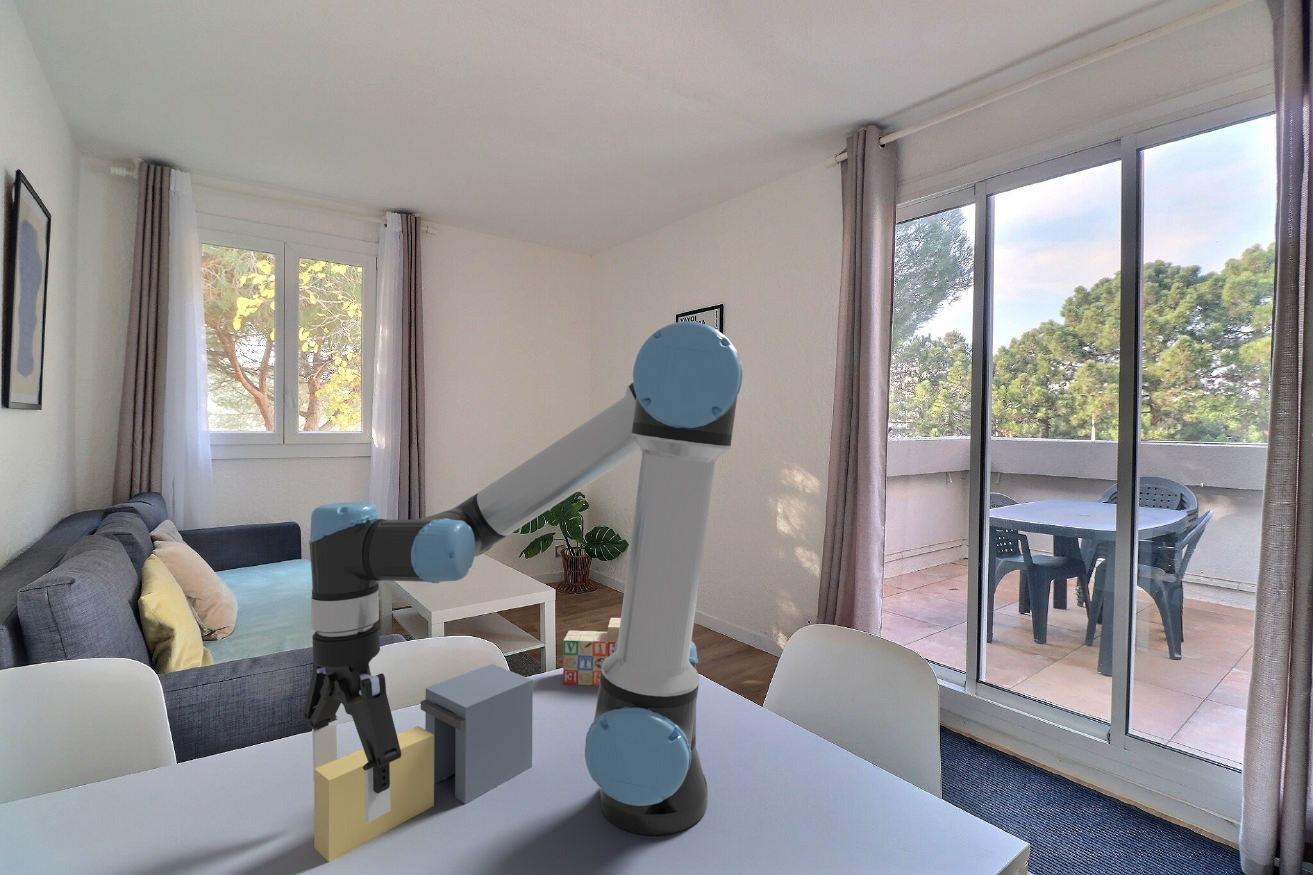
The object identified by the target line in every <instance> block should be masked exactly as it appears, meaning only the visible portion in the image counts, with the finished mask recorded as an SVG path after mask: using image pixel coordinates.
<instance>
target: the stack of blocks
mask: <svg viewBox="0 0 1313 875" xmlns="http://www.w3.org/2000/svg"><path fill="white" fill-rule="evenodd" d="M620 621H621V617H610V619H609V623H608V625H607V631H595V630H568V632H567V633H566V635H565V637H564V638H563V640H562V642H563V644H562V648H563V649H562V654H563V657H562V658H563V661H562V662H563V663H562V669H563V670H562V671H563V672H562V684H563V685H578V686H598V687H599V683H600V676H601V668H602V664H603V661H604V660H605V659H606V658H607V657H609V656H610V655H612V654H613V653H614V648H615V643H616V642H617V641H618V636H619V629H620Z"/></svg>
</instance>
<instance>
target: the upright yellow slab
mask: <svg viewBox="0 0 1313 875" xmlns="http://www.w3.org/2000/svg"><path fill="white" fill-rule="evenodd" d="M396 734H397V733H396ZM397 738H398V742H399V746H400V750H401V757H400V758H399V759H396V760H394V761H392V762H390V806H391V811H389V812H387V813H385V814H383V815H381V816H379V817H378V818H376V819H374V820H372V821H370V822H367V821H366V820H365V784H364V769H363V767H364V765H365V764H366V763H368V760H367V757H366V754H365V752H364V749H363V748H361V749H359V750H357V751H354V752H351V753H350V754H347V755H344V756H342V757H340V758H337V760H334V761H332V762H329V763H327V764H325V765H322V766H320V767H317V768H315V769H314V778H313V782H314V783H313V784H314V785H313V786H314V788H313V789H314V790H313V791H314V792H313V794H314V795H313V799H314V800H313V805H314V806H313V807H314V808H313V809H314V810H313V813H314V814H313V815H314V816H313V817H314V819H313V824H314V827H313V833H314V834H313V835H314V836H313V840H314V842H313V848H314V849H315V850H316V851H317V852H318V854H320V855H321V856H322V857H323V858H324V859H325V860H326V861H327V862H328V863H331V862H332V861H334V860H335V859H338V858H340V857H342V856H344V855H346V854H347V853H350V851H352V850H354V849H356V848H358V847H360V846H362V845H364V844H366V843H367V842H369V841H372V840H373V839H375V838H377V837H378V836H380V835H382V834H384V833H387V832H388V831H390V830H391V829H394V828H395V827H397V826H399V825H401V824H403V823H405V822H406V821H408V820H410V819H412V818H414V817H416V816H417V815H419V814H421V813H423V812H425V811H427V810H429V809H431V808H432V807H434V806H435V784H434V734H432V733H430V732H428V731H427V730H425V728H423V727H421V726H419V725H416V726H414V727H412V728H410V729H407V730H405V731H403V732H400V733H398V734H397Z"/></svg>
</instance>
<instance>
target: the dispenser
mask: <svg viewBox="0 0 1313 875" xmlns="http://www.w3.org/2000/svg"><path fill="white" fill-rule="evenodd" d="M533 681H534V680H533V679H532V678H529V677H526V676H523V675H521V674H520V673H516V672H513V671H511V670H508V669H506V668H504V667H500V666H499V665H495V664H493V663H492V664H488V665H486V666H483V667H480V668H477V669H474V670H472V671H469V672H467V673H464V674H460V675H458V676H456V677H453V678H450V679H447V680H444V681H441V682H438V683H436V684H434V685H430V686H428V687H425V699H423V700H420V710H421V711H423V712H424V713H425V714H424V716H425V724H424V725H425V727H424V729H425V730H427V731H428V732H430V733H432V734H434V785H435V784H437V783H439V782H442V781H443V780H445V779H447V778H449V777H451V776H453V775H454V774H455V776H454V777H455V778H454V780H455V781H454V782H455V783H454V785H455V786H454V790H455V792H454V795H455V799H457V800H459V801H460V802H462V803H463V804H465V805H466V804H468V803H470V802H471V801H473V800H475V799H477V798H478V797H481V796H483V794H486V793H488V792H489V791H492V790H493V789H495V788H497V787H498V786H500V785H501V784H504V783H505V782H507V781H509V780H510V779H511V780H512V778H514V777H516V776H517V775H520V774H522V773H523V772H525V771H527V770H528V769H530V768H532V767H533V707H534V706H533V703H534V699H533V696H534V695H533V692H534V691H533V688H534V687H533V684H534V682H533Z"/></svg>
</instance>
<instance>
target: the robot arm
mask: <svg viewBox="0 0 1313 875" xmlns="http://www.w3.org/2000/svg"><path fill="white" fill-rule="evenodd" d="M632 380H633V382H632V383H629V385H627V386H626V390H625V394H624V397H622V398H621V399H619V400H618V401H616V402H615V403H613V404H612V405H610V406H608V407H607V408H606V409H604V410H603V411H601V412H599V413H598V414H596V415H595V416H593V417H592V418H590V419H589V420H587V421H586V422H584V423H583V424H581V425H579V426H577V427H576V428H574V429H573V430H572V431H570V432H569V433H567V434H566V435H564V436H563V437H561V438H559V439H558V440H557V441H555V442H553V443H552V444H551V445H548V446H547V447H546V448H544V449H542V450H541V451H540V452H538V453H537V454H535V455H533V456H532V457H531V458H528V459H527V460H526V461H524V462H523V463H521V464H520V465H517V467H515V468H514V469H512V470H511V471H509V472H507V473H506V474H504V475H502V476H501V477H500V478H498V479H496V480H495V481H494V482H492V483H491V484H489V485H488V486H486V487H485V488H483V489H482V490H480V491H478V493H476V494H474V495H472V496H470V497H469V498H468V499H465V500H464V501H463V502H461V503H459V504H458V505H456V506H455V507H453V508H451V509H448V510H445V511H441V512H438V513H435V514H432V515H428V516H425V517H422V518H417V519H416V518H415V519H414V518H413V519H384V518H379V517H380V516H379V513H378V508H377V506H376V504H375V503H373V502H365V501H348V502H347V501H345V502H335V503H334V502H333V503H327V504H323V505H320V506H318V507H315V509H313V511H312V512H311V516H310V538H309V541H308V545H309V552H310V553H309V555H310V565H311V567H310V568H311V569H310V571H311V581H312V582H311V584H312V588H311V596H310V607H311V608H310V609H311V612H310V613H311V616H310V617H311V628H312V630H314V634H313V635H312V674H311V679H310V681H309V682H310V683H309V688H308V691H307V697H306V701H305V705H304V709H303V716H302V718H303V719H304V720H305V721H309V723H308V724H309V726H310V727H309V728H310V729H311V730H312V731H311V732H312V766H313V768H312V770H313V779H314V769H315V768H317V767H320V766H322V765H325V764H327V763H329V762H332V761H334V760H337V759H338V746H337V745H338V742H337V741H338V740H337V737H338V736H337V724H336V723H332V722H335V721H337V720H338V717H337V712H338V710H339V709H340V706H341V704H342V705H343V708H344V711H345V713H346V714H347V715H350V716H351V718H352V720H353V722H354V725H355V726H354V727H355V729H356V732H357V734H358V738H359V741H360V743H361V746H362V749H364V752H365V754H366V757H367V760H368V763H366V764H365V765H364V767H363V769H364V784H365V820H366V821H367V822H370V821H372V820H374V819H376V818H378V817H379V816H381V815H383V814H385V813H387V812H389V811H391V806H390V762H392V761H394V760H396V759H399V758H400V757H401V750H400V746H399V742H398V738H397V731H396V726H395V723H394V722H395V721H394V718H393V714H392V710H391V707H390V702H389V699H388V694H387V686H386V677H385V674H384V673H379V674H376V675H372V674H371V673H372V672H371V669H370V662H371V661H372V660H373V659H374V658H375V657H376V656H377V655H378V654H379V653H380V651H381V629H380V628H381V627H380V625H379V624H378V623H377V622H378V621H379V619H380V607H379V606H380V605H379V604H380V603H379V600H381V597H382V596H381V594H380V593H379V587H380V586H379V582H382V581H384V582H385V581H386V582H388V581H389V582H417V583H418V582H420V583H421V582H423V583H431V584H437V583H438V584H439V583H442V582H457V581H461V580H462V579H464V578H465V577H466V576H467V575H468V574H469V570H470V569H471V568H472V566H473V563H474V560H475V557H479V556H480V555H482V554H484V553H486V552H488V551H489V550H490V549H491V548H493V546H494V545H496V544H498V543H500V541H502V540H503V539H505V538H506V537H508V536H509V535H511V534H512V533H514V532H515V531H517V530H518V529H520V528H522V527H523V526H525V525H526V524H529V523H530V522H531V521H532V520H534V519H536V518H537V517H540V515H543V514H544V513H545V512H547V511H548V510H550V509H551V508H554V507H555V506H556V505H558V504H559V503H561V502H563V501H564V500H566V499H567V498H569V497H571V496H572V495H574V494H575V493H577V492H579V491H581V489H583V488H585V487H587V485H589V484H591V483H592V482H594V481H596V480H598V479H599V478H601V477H602V476H604V475H606V474H607V473H608V472H610V471H612V470H614V469H616V467H618V466H619V465H621V464H623V463H625V461H627V460H629V459H630V458H632V457H633V456H635V455H637V454H638V453H640V452H641V453H642V454H641V461H640V468H639V474H638V475H639V476H638V484H637V492H636V497H635V506H634V514H633V522H632V527H631V528H632V529H631V536H630V544H629V553H628V560H627V568H626V574H625V576H626V577H625V582H624V591H623V599H622V606H621V607H622V608H621V614H620V618H621V621H620V629H619V636H618V641H617V642H616V643H615V648H614V653H613V654H612V655H610V656H609V657H607V658H606V659H605V660H604V661H603V664H602V668H601V676H600V683H599V686H598V690H597V699H596V705H595V714H594V716H593V717H594V719H593V721H592V723H591V725H590V726H589V728H588V730H587V732H586V736H585V744H584V747H585V748H584V759H585V760H584V761H585V764H586V765H585V766H586V768H587V771H588V773H589V775H590V777H591V779H592V781H594V782H595V783H596V784H597V785H598V787H600V790H599V795H600V797H599V800H600V802H599V803H600V808H601V810H602V813H603V815H604V816H605V817H606V818H607V819H608V820H609V821H610V822H611V823H613V824H614V826H617V827H619V828H621V829H623V830H624V831H628V832H631V833H635V834H638V835H639V834H640V835H648V836H662V835H669V834H674V833H678V832H681V831H683V830H686V829H688V828H691V827H692V826H694V825H695V824H696V823H698V822H699V821H700V820H701V819H702V818H703V816H704V815H705V814H706V812H707V809H708V801H709V799H708V798H709V797H708V794H709V792H708V791H709V790H708V788H709V787H708V782H707V780H706V777H705V775H704V771H703V768H702V764H701V760H700V757H699V754H698V749H697V744H696V742H697V741H696V739H697V738H696V737H697V700H698V692H699V685H700V675H699V672H698V671H697V666H698V664H699V659H698V655H697V646H696V644H695V642H694V641H693V640H692V639H693V631H694V626H695V625H694V624H695V617H696V608H697V603H698V596H699V595H698V594H699V586H700V578H701V572H702V565H703V556H704V548H705V543H706V535H707V529H708V528H707V527H708V520H709V519H708V518H709V512H710V505H711V496H712V490H713V489H712V488H713V483H714V482H713V480H714V475H715V474H714V473H715V465H716V461H717V460H718V459H719V458H720V457H721V456H722V455H724V454H725V453H727V451H729V450H730V449H731V446H732V439H733V432H734V424H735V417H736V410H737V402H738V395H739V393H740V391H741V387H742V381H743V367H742V362H741V359H740V356H739V353H738V351H737V349H736V347H735V346H734V345H733V344H732V341H731V340H729V338H727V336H726V335H724V334H723V333H722V332H720V330H718V329H716V328H714V327H713V326H710V325H709V324H706V323H702V322H697V321H678V322H673V323H670V324H668V325H665V326H664V327H661V328H660V329H658V330H656V331H655V332H654V333H652V334H651V335H650V336H649V337H648V338H647V339H646V340H645V341H644V343H643V344H642V346H641V347H640V349H639V351H638V353H637V354H636V358H635V361H634V365H633V370H632ZM330 723H331V724H330Z"/></svg>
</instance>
